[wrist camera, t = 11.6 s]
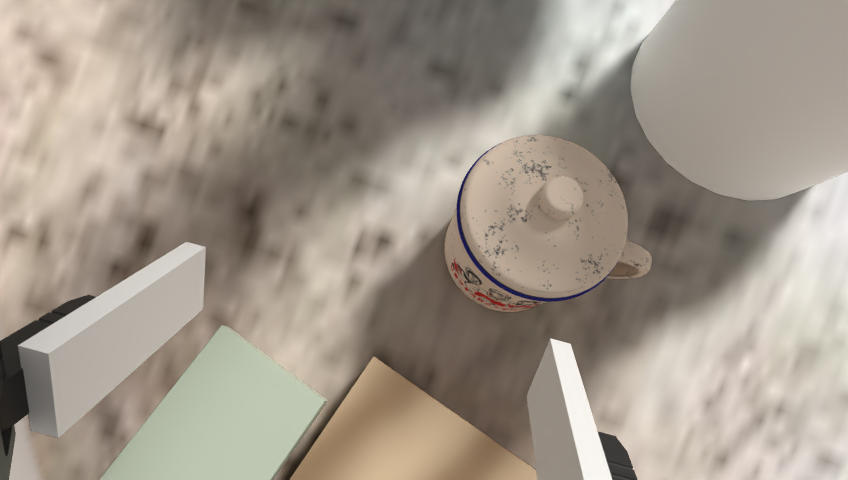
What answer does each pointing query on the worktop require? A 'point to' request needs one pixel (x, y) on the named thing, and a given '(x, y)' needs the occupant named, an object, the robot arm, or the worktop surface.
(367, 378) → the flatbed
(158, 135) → the worktop surface
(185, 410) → the panel
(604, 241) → the teacup with lid
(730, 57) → the cylinder
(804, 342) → the worktop surface
